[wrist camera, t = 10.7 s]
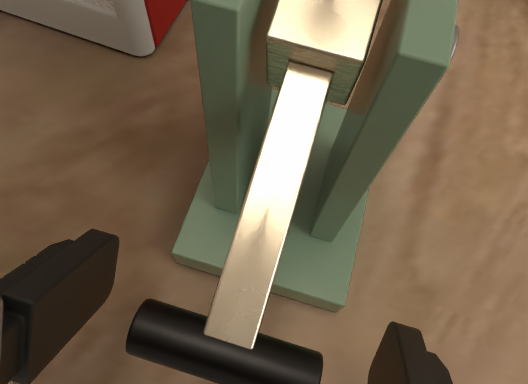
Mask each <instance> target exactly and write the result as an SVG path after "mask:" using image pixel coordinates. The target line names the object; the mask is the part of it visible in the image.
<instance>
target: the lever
mask: <svg viewBox="0 0 528 384" xmlns="http://www.w3.org/2000/svg"><path fill="white" fill-rule="evenodd" d="M382 1H383V0H277V2H276V5H275V8H274V11H273V14H272V17H271V20H270V23H269V26H268V29H267V32H266V35H265V36H266V73H267V84H269V85H273V86H276V87H280V88H279V91H278V94H277V97H276V100H275V104H274V107H273V110H272V113H271V116H270V119H269V123H268V126H267V129H266V132H265V135H264V139H263V142H262V145H261V148H260V151H259V155H258V158H257V161H256V164H255V167H254V170H253V174H252V177H251V180H250V183H249V186H248V190H247V193H246V196H245V199H244V202H243V205H242V209H241V212H240V215H239V218H238V221H237V225H236V228H235V231H234V234H233V237H232V241H231V244H230V247H229V250H228V253H227V256H226V260H225V263H224V266H223V269H222V272H221V276H220V279H219V282H218V285H217V288H216V292H215V295H214V298H213V301H212V304H211V307H210V311H209V314H208V317H207V316H204V315H201V314H198V313H195V312H192V311H189V310H185V309H182V308H179V307H176V306H173V305H170V304H167V303H163V302H160V301H157V300H154V299H146V300H145V301H144V302H143V303H142V305H141V306H140V307H139V309H138V311H137V312H136V314H135V316H134V318H133V321H132V323H131V326H130V328H129V332H128V335H127V340H126V352H127V353H128V354H130V355H133V356H136V357H139V358H142V359H145V360H148V361H151V362H154V363H157V364H160V365H163V366H166V367H169V368H173V369H176V370H179V371H182V372H185V373H188V374H191V375H194V376H197V377H200V378H203V379H206V380H209V381H212V382H215V383H218V384H320V381H321V376H322V369H323V356H322V354H321V353H320V352H317V351H314V350H311V349H308V348H305V347H302V346H298V345H295V344H292V343H289V342H286V341H283V340H280V339H276V338H273V337H270V336H267V335H264V334H261V333H259V329H260V326H261V323H262V319H263V316H264V312H265V309H266V305H267V302H268V299H269V295H270V292H271V288H272V285H273V281H274V278H275V275H276V271H277V268H278V264H279V261H280V257H281V254H282V251H283V247H284V244H285V240H286V237H287V234H288V230H289V227H290V223H291V220H292V216H293V213H294V210H295V206H296V203H297V199H298V196H299V192H300V189H301V186H302V182H303V179H304V175H305V172H306V168H307V165H308V162H309V158H310V155H311V151H312V148H313V144H314V141H315V138H316V134H317V131H318V127H319V124H320V121H321V117H322V114H323V110H324V107H325V103H326V100H327V101H331V102H334V103H338V104H341V105H345V104H346V103H347V101H348V99H349V97H350V94H351V92H352V90H353V88H354V86H355V83H356V81H357V79H358V77H359V75H360V73H361V70H362V68H363V66H364V64H365V61H366V58H367V54H368V51H369V47H370V43H371V40H372V36H373V33H374V29H375V26H376V22H377V18H378V15H379V11H380V8H381V4H382Z"/></svg>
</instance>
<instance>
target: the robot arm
mask: <svg viewBox="0 0 528 384" xmlns="http://www.w3.org/2000/svg"><path fill="white" fill-rule="evenodd" d="M118 249H119V238H118V236H116V235H112V234H109V233H106V232H103V231H99V230H96V229H90V230H89V231H87V232H86V233H85V234H83V235H82V236H81V237H79V238H78V239H76V240H75V241H73V240H70V239H68V240H65V241H62V242H58V243H55V244H52V245H50V246H48V247H47V248H45V249H44V250H42V251H41V252H39V253H38V254H37V256H34V257H32V258H31V259H29V260H28V261H26V263H25V264H22V265H20V266H19V267H17V268H16V269H15V270H13V271H12V272H10V273H9V274H7V275H6V276H4V277H3V278H1V279H0V384H7V383H8V382H9V381H10V380H11V381H14V382H17V383H20V384H30V383H31V382H32V381H33V380H34V379H35V378H36V377H37V376H38V374H39V373H40V372H41V371H42V370H43V369H44V368H45V367H46V366H47V365H48V364H49V362H50V361H51V360H52V359H53V358H54V357H55V356H56V355H57V354H58V353H59V352H60V350H61V349H62V348H63V347H64V346H65V345H66V344H67V343H68V342H69V341H70V340H71V338H72V337H73V336H74V335H75V334H76V333H77V332H78V331H79V330H80V329H81V328H82V326H83V325H84V324H85V323H86V322H87V321H88V320H89V319H90V318H91V317H92V316H93V314H94V313H95V312H96V311H97V310H98V309H99V308H100V307H101V306H102V305H103V304H104V302H105V301H106V300H107V298H108V296H109V294H110V292H111V290H112V287H113V283H114V277H115V270H116V263H117V256H118ZM368 384H453V383H452V380H451V377H450V374H449V371H448V369H447V368H446V367H445V366H444V364H443V363H442V362H441V360H440V359H439V358H438V357H437V355H436V354H434V353H431V352H428V351H427V350H426V347H425V344H424V340H423V337H422V334H421V331H420V330H419V329H416V328H413V327H409V326H406V325H403V324H399V323H396V322H391V323H390V324H389V325H388V327H387V329H386V331H385V334H384V336H383V338H382V341H381V343H380V345H379V348H378V350H377V352H376V355H375V357H374V359H373V362H372V364H371V367H370V370H369V375H368Z"/></svg>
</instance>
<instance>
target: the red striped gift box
mask: <svg viewBox="0 0 528 384" xmlns="http://www.w3.org/2000/svg"><path fill="white" fill-rule="evenodd" d="M186 1H187V0H0V10H2V11H5V12H8V13H11V14H14V15H17V16H20V17H23V18H25V19H28V20H31V21H34V22H37V23H40V24H43V25H46V26H49V27H52V28H55V29H58V30H61V31H64V32H67V33H70V34H73V35H76V36H79V37H82V38H85V39H88V40H91V41H94V42H97V43H100V44H103V45H106V46H108V47H111V48H114V49H117V50H120V51H123V52H126V53H129V54H132V55H135V56H146V55H149V54H151V53H152V52H153V51H154V50H155V45H157V46H158V45H159V43H160V42H161V40H162V38H163V37H164V35H165V34H166V32H167V31H168V29H169V28H170V26H171V24H172V23H173V21H174V20H175V18H176V17H177V15H178V14H179V12H180V11H181V9H182V7H183V6H184V4H185V3H186Z"/></svg>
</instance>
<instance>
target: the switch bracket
mask: <svg viewBox="0 0 528 384" xmlns="http://www.w3.org/2000/svg"><path fill="white" fill-rule="evenodd" d="M190 1H191V9H192V17H193V26H194V34H195V43H196V51H197V59H198V68H199V76H200V85H201V93H202V101H203V110H204V118H205V127H206V135H207V143H208V152H209V160H208V163H207V165H206V168H205V170H204V173H203V175H202V178H201V180H200V182H199V185H198V187H197V190H196V192H195V195H194V197H193V200H192V202H191V205H190V207H189V209H188V212H187V214H186V217H185V219H184V222H183V224H182V227H181V229H180V231H179V234H178V236H177V239H176V241H175V244H174V246H173V249H172V251H171V253H172V255H173V257H174V259H175V261H176V263H178V264H182V265H185V266H188V267H191V268H194V269H198V270H201V271H204V272H207V273H210V274H214V275H217V276H221V272H222V269H223V266H224V263H225V260H226V256H227V253H228V250H229V247H230V244H231V241H232V237H233V234H234V231H235V228H236V225H237V221H238V218H239V215H240V212H241V209H242V205H243V202H244V199H245V196H246V193H247V190H248V186H249V183H250V180H251V177H252V174H253V170H254V167H255V164H256V161H257V158H258V155H259V151H260V148H261V145H262V142H263V139H264V135H265V132H266V129H267V126H268V123H269V119H270V116H271V113H272V110H273V107H274V104H275V100H276V97H277V94H278V91H279V90H276V89H272V87H273V85H269V84H267V73H266V36H265V35H266V32H267V29H268V26H269V23H270V20H271V17H272V14H273V11H274V8H275V5H276V2H277V0H190ZM457 8H458V0H391V1H390V4H389V6H388V9H387V11H386V14H385V16H384V19H383V21H382V24H381V26H380V29H379V31H378V34H377V36H376V39H375V41H374V44H373V46H372V49H371V51H370V54H369V56H368V59H367V61H366V64H365V66H364V69H363V71H362V74H361V76H360V79H359V81H358V84H357V86H356V89H355V91H354V94H353V96H352V99H351V101H350V104H349V106H348V109H345V108H341V107H337V106H334V105H330V104H327V103H325V107H324V110H323V114H322V117H321V121H320V124H319V127H318V131H317V134H316V138H315V141H314V144H313V148H312V151H311V155H310V158H309V162H308V165H307V168H306V172H305V175H304V179H303V182H302V186H301V189H300V192H299V196H298V199H297V203H296V206H295V210H294V213H293V216H292V220H291V223H290V227H289V230H288V234H287V237H286V240H285V244H284V247H283V251H282V254H281V257H280V261H279V264H278V268H277V271H276V275H275V278H274V281H273V285H272V288H271V292H272V293H275V294H278V295H281V296H284V297H288V298H291V299H294V300H297V301H300V302H304V303H307V304H310V305H313V306H317V307H320V308H323V309H326V310H329V311H333V312H337V311H338V310H340V309H341V308H342V307H344V306H345V302H346V297H347V293H348V288H349V283H350V278H351V273H352V268H353V264H354V259H355V254H356V249H357V244H358V240H359V235H360V230H361V225H362V220H363V216H364V211H365V206H366V201H367V196H368V192H369V187H370V185H371V184H372V182H373V181H374V179H375V178H376V176H377V175H378V173H379V172H380V170H381V169H382V167H383V166H384V164H385V163H386V161H387V159H388V158H389V156H390V155H391V153H392V152H393V150H394V149H395V147H396V146H397V144H398V143H399V141H400V140H401V138H402V137H403V135H404V134H405V132H406V131H407V129H408V128H409V126H410V125H411V123H412V122H413V120H414V119H415V117H416V116H417V114H418V113H419V111H420V110H421V108H422V107H423V105H424V104H425V102H426V101H427V99H428V98H429V96H430V95H431V93H432V92H433V90H434V89H435V87H436V86H437V84H438V83H439V81H440V80H441V78H442V77H443V75H444V74H445V72H446V71H447V69H448V68H449V66H450V62H451V60H452V57H453V55H454V52H455V49H456V46H457V42H458V37H459V27H458V26H457V25H455V23H456V15H457Z"/></svg>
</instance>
